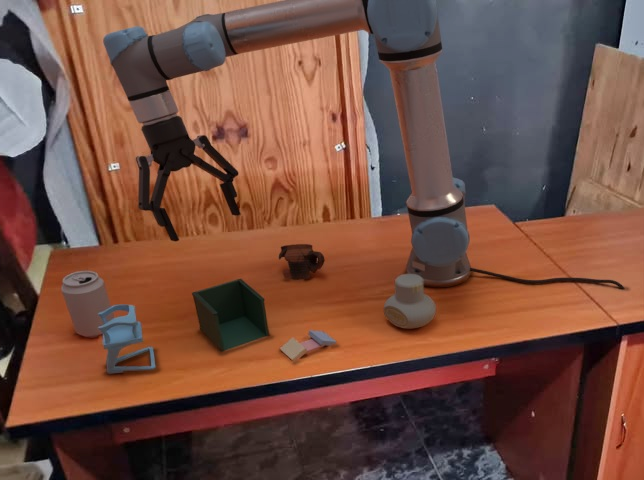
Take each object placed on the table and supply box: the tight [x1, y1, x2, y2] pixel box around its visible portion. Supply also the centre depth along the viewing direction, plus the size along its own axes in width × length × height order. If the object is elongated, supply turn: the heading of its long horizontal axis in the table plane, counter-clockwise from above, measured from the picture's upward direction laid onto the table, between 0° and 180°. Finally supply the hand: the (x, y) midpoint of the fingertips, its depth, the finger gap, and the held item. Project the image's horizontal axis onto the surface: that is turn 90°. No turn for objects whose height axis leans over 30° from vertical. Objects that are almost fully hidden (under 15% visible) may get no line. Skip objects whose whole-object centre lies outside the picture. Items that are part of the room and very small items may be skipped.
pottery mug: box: [277, 243, 326, 281], centre depth 160 cm, size 12×10×8 cm
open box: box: [191, 278, 270, 353], centre depth 135 cm, size 10×10×9 cm
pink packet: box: [299, 337, 325, 355], centre depth 134 cm, size 5×3×1 cm
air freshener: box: [383, 273, 437, 330], centre depth 141 cm, size 11×8×10 cm
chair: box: [98, 303, 157, 375], centre depth 125 cm, size 8×8×12 cm
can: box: [60, 270, 116, 338], centre depth 134 cm, size 8×8×12 cm
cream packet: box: [279, 336, 307, 362], centre depth 132 cm, size 5×3×1 cm
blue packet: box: [307, 329, 337, 347], centre depth 135 cm, size 5×3×1 cm
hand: (206, 227), depth 137 cm, fingers open, 13 cm apart
